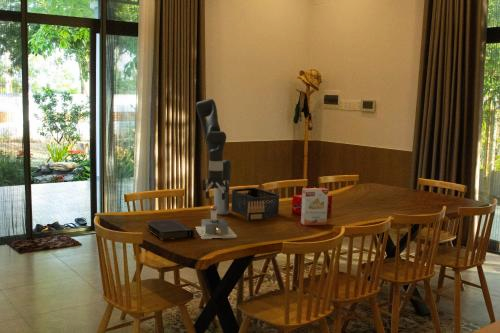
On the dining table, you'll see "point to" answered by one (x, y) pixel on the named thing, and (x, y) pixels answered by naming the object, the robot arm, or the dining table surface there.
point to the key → (213, 213)
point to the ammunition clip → (256, 211)
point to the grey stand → (215, 229)
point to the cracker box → (314, 206)
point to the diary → (169, 229)
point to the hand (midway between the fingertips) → (215, 199)
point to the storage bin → (255, 196)
